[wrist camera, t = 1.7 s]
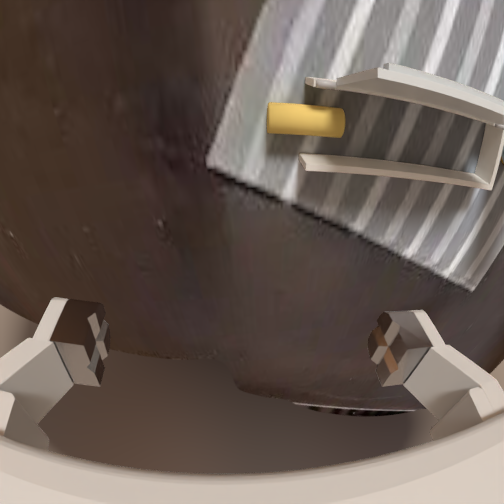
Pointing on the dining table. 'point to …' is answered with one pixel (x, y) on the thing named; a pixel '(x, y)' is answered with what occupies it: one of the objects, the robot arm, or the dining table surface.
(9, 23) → the dining table surface
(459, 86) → the cover
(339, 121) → the yellow cylinder
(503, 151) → the bottle
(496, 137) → the white long shallow tray
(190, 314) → the dining table surface
